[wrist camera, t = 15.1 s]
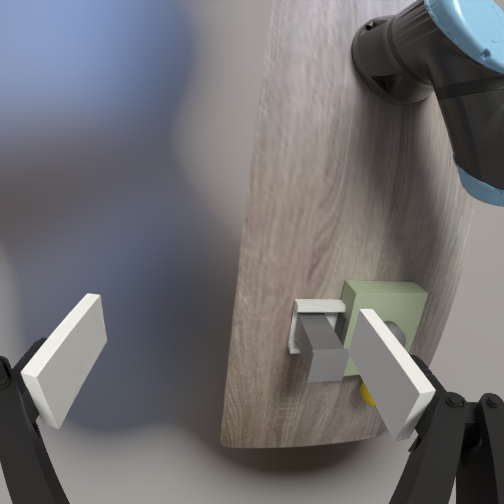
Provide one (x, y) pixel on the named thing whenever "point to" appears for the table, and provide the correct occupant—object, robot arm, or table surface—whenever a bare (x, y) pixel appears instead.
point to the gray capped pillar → (320, 348)
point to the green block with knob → (368, 297)
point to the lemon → (366, 395)
